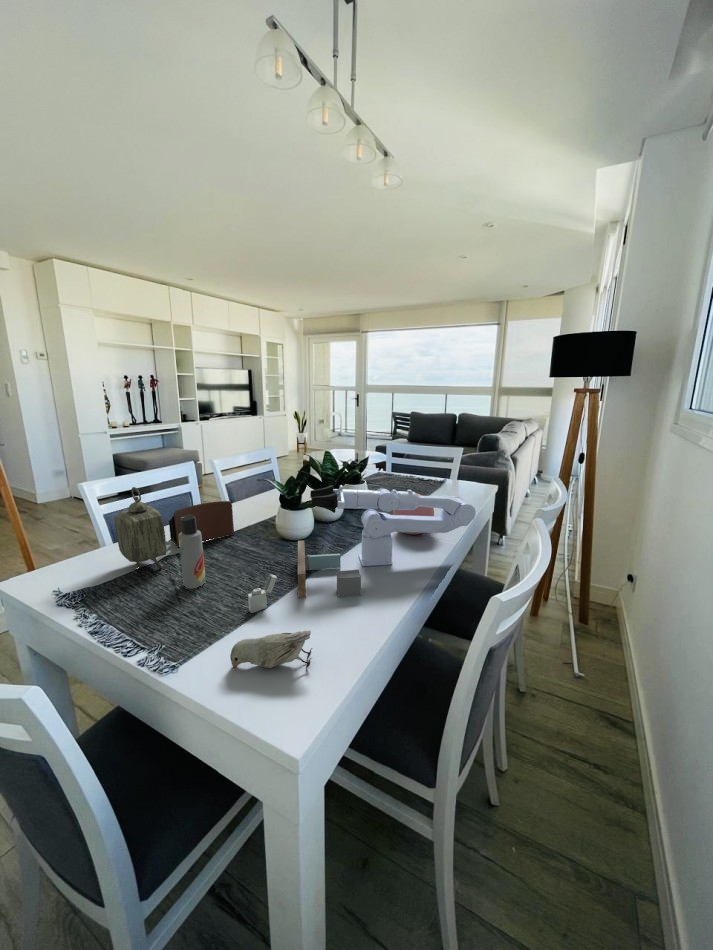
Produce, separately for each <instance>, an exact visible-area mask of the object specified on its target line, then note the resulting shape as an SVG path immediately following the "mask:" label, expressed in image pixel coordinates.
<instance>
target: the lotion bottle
mask: <svg viewBox="0 0 713 950" xmlns="http://www.w3.org/2000/svg"><path fill="white" fill-rule="evenodd" d="M180 520H181V530H182V532H181V533H180V534H179V535H178V537H179V547H180V548H179V556H180V563H181V564H180V565H181V572H182V573H181V574H182V583H183V586H185V587H187V588H196V589H198V588H197V587H199V586H201V587H203V586H204V585H205V584H206V569H205V559H204V550H203V549H204V548H203V542H202V537H201V532H200V531H199V530H197V523H196V517H194V515H186V516H183V517H181V519H180ZM204 583H205V584H204ZM203 584H204V585H203ZM202 585H203V586H202ZM185 587H184V588H185ZM187 588H186V589H187ZM199 588H200V587H199Z"/></svg>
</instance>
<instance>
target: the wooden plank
mask: <svg viewBox="0 0 713 950" xmlns="http://www.w3.org/2000/svg"><path fill="white" fill-rule="evenodd" d="M305 548H306V547H305V540H298V541H297V591H298V593H297V595H298V597H297V598H298V599H300V598H302V599H303V598H307V588H306V586H307V582H306V552H305Z"/></svg>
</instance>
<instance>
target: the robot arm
mask: <svg viewBox="0 0 713 950" xmlns="http://www.w3.org/2000/svg"><path fill="white" fill-rule="evenodd" d="M417 494H418V493H417ZM417 494H416V491H413V490H411V489H407V490H406V491H403V490H402V491H401V490H396V489H391V491H390V490H388V489H386V488H384V487H381V488H378V489H377V490H372V489H353V488H352V489H349V488H348V489H347V488H344V487H343V485H342V484H340V485H339V488H334V485H333V484H331V485H328V486H326V487H323V488H317V489H312V490H310V494H309V495H310V499H311V502H310V503H311V506H315V507H319V508H323V509H326V510H328V511H330V512H332V513H336V509H339V510H343V509H365V511H363V513H362V515H361V519H360V521H361V522H360V523H361V524H362V525H363V529H362V531H361V553H359V554H358V557H359V560H360V563H361V565H362V566H363V567H369V566H371V567H373V566H374V567H375V566H385V565H386V566H387V565H388V566H389V565H393V538H392V533H404V532H423V533H429V534H430V533H434V534H448V533H449V532H451V531H454V530H457V529H459V528H460V527H467V526H469V524H471V523H472V521H473V520H474V519H475V518H476V514H477V511H476V508H475V507H474V506H473V505H472V504H470V503H468V502H467V501H465V500H464V499H463V498H461V497H460V496H458V495H457V496H453V495H449V494H447V495H423V496H418V495H417ZM417 507H430V508H433V509H441V510H442V511H441V512H440V514H439V515H437V516H435V515H434V516H405V515H393V514H389V513H390V512H393V510H394V509H395V510H415V509H416V508H417ZM366 509H367V510H366ZM376 509H378V510H379V509H380V510H381V511H383V512H379V511H377V510H376Z"/></svg>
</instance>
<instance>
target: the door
mask: <svg viewBox="0 0 713 950" xmlns="http://www.w3.org/2000/svg"><path fill="white" fill-rule="evenodd" d="M340 568H342V567H341V553H327V554H312V555H310V554H307V555H306V554H305V571H312V570H329V569H340Z"/></svg>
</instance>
